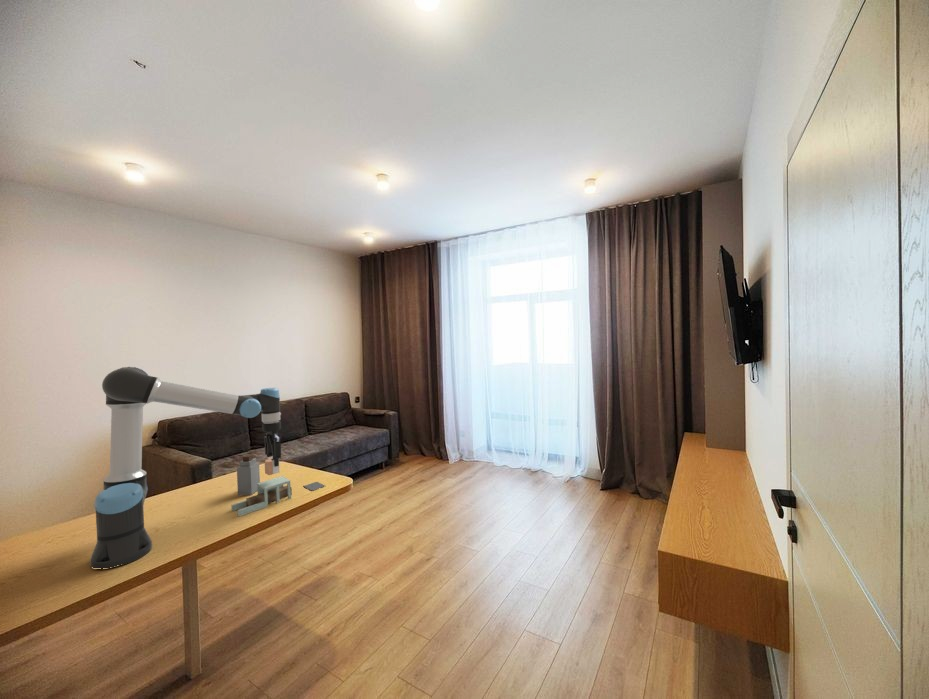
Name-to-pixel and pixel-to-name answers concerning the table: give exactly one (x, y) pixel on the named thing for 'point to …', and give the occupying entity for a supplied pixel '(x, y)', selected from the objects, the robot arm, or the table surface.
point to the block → (268, 466)
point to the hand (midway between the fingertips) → (273, 471)
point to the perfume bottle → (248, 475)
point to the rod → (271, 496)
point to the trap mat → (314, 486)
